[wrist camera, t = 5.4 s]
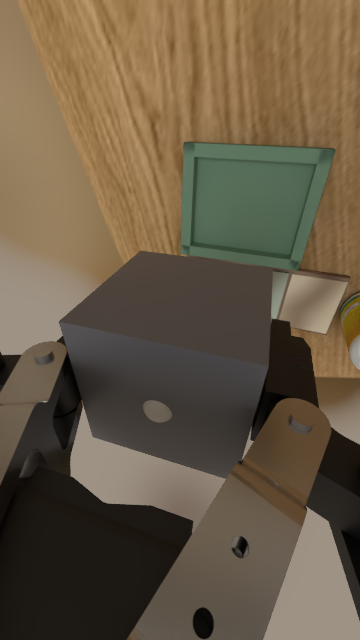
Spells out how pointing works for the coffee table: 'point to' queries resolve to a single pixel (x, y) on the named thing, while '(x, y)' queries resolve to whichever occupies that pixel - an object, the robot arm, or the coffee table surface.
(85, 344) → the die
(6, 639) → the robot arm
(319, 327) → the track
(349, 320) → the supplement bottle
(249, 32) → the coffee table surface
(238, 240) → the tray
